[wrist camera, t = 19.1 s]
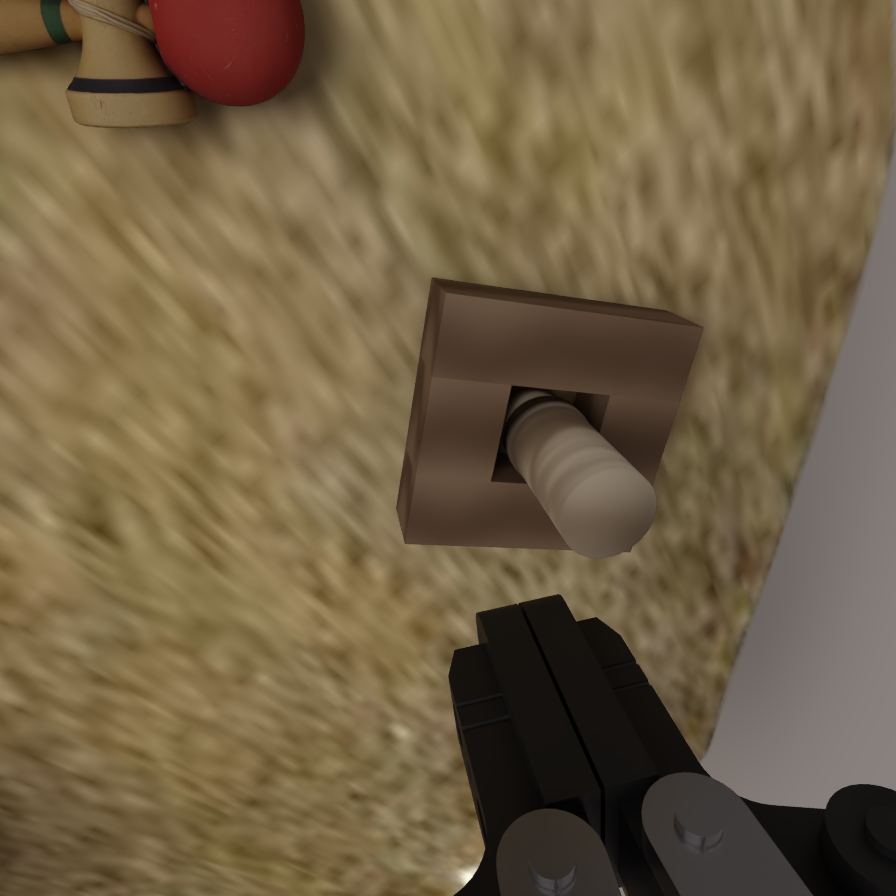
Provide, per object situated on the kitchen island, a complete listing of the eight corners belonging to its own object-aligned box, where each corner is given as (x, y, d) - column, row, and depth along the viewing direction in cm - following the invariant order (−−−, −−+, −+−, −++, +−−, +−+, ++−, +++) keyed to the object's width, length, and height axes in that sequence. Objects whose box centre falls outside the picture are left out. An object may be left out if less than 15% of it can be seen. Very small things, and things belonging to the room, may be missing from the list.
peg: (496, 372, 37) (573, 463, 26) (569, 380, 38) (672, 471, 27) (481, 445, 39) (547, 558, 28) (551, 450, 40) (641, 561, 29)
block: (431, 277, 34) (445, 292, 30) (666, 310, 37) (703, 327, 34) (396, 508, 39) (404, 543, 36) (603, 518, 43) (630, 552, 39)
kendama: (-81, 157, 29) (323, 143, 29) (-216, 125, 23) (298, 108, 23) (-128, -44, 27) (306, -54, 27) (-290, -139, 21) (274, -150, 21)
